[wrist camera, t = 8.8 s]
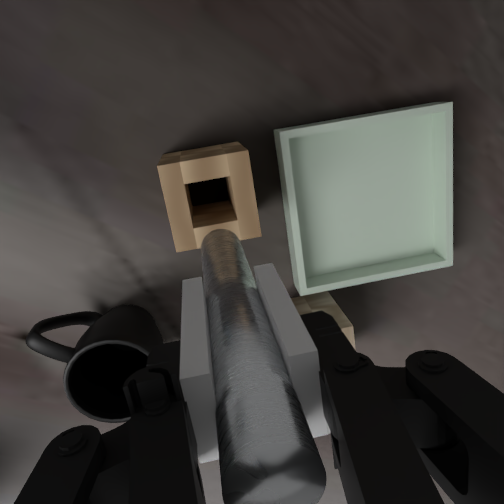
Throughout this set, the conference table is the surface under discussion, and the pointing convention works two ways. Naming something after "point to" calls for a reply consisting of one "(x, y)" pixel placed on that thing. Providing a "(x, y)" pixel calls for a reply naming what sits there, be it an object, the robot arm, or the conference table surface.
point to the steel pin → (253, 390)
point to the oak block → (213, 214)
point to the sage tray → (368, 196)
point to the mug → (100, 357)
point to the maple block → (325, 310)
